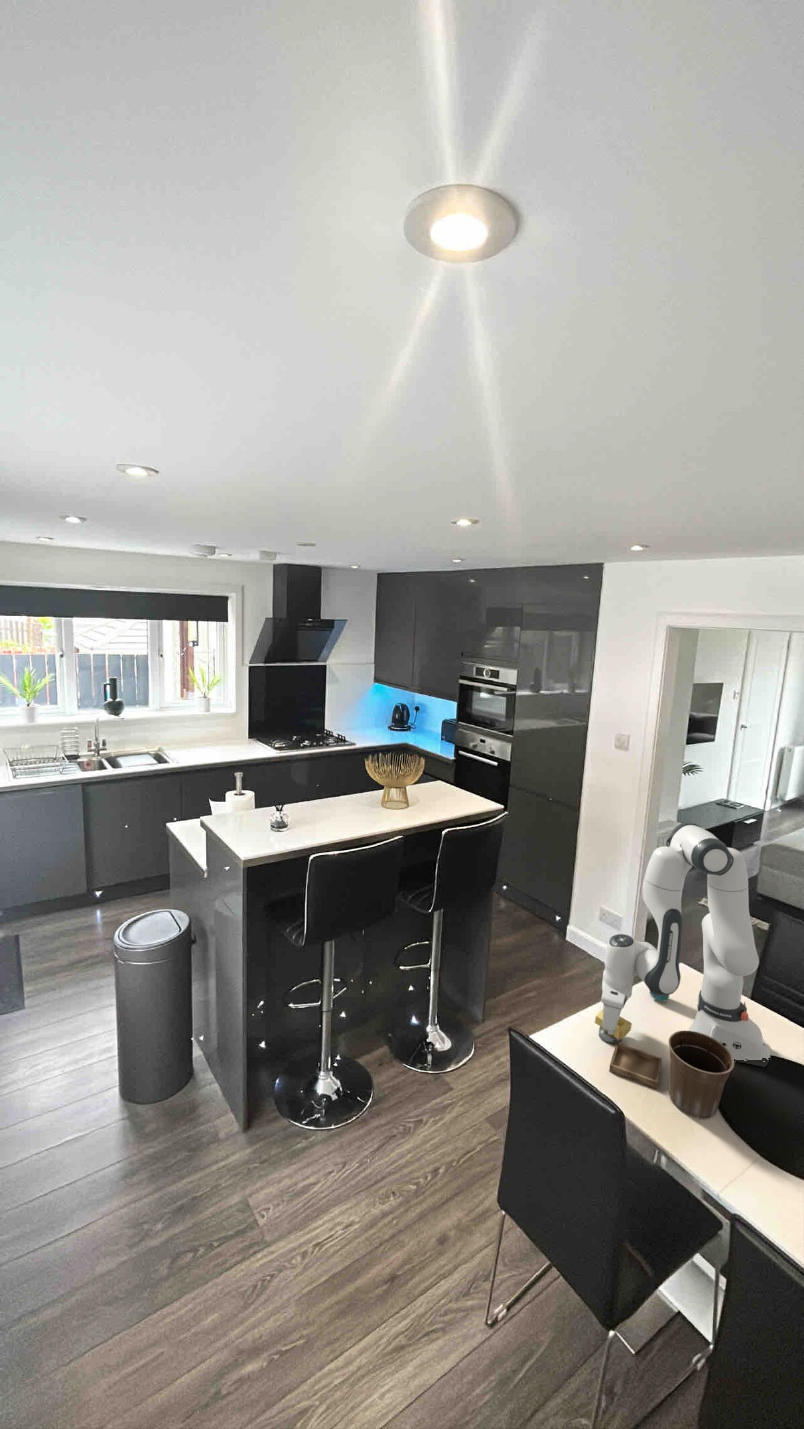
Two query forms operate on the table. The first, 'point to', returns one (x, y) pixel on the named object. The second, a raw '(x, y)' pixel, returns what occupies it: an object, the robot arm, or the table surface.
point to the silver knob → (608, 1037)
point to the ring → (622, 1025)
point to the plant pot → (697, 1072)
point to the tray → (636, 1065)
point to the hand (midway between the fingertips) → (613, 1025)
